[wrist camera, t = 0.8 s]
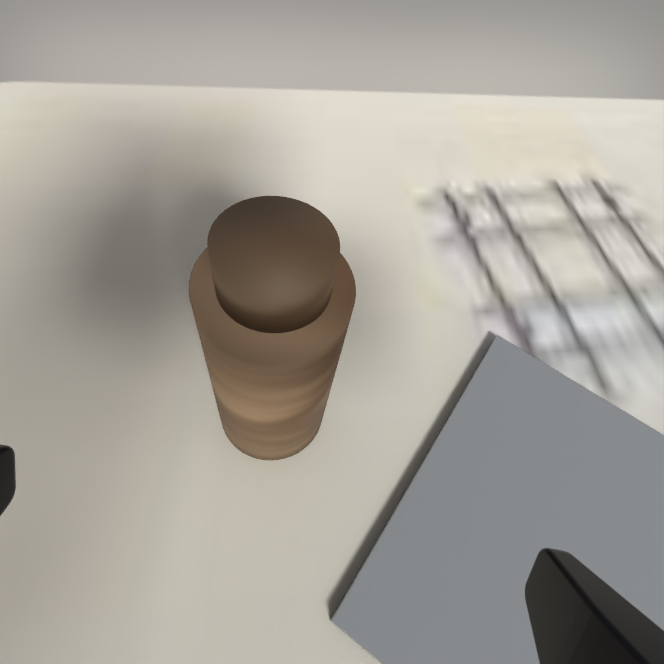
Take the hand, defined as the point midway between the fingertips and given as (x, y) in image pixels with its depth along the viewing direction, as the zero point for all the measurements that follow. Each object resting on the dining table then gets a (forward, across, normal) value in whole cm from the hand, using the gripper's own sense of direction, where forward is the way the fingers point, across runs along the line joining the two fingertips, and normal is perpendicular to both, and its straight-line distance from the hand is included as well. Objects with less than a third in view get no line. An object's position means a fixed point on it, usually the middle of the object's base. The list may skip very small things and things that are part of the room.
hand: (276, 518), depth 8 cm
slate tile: (+12, -15, +9) cm, 21 cm away
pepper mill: (+15, +2, +6) cm, 17 cm away
